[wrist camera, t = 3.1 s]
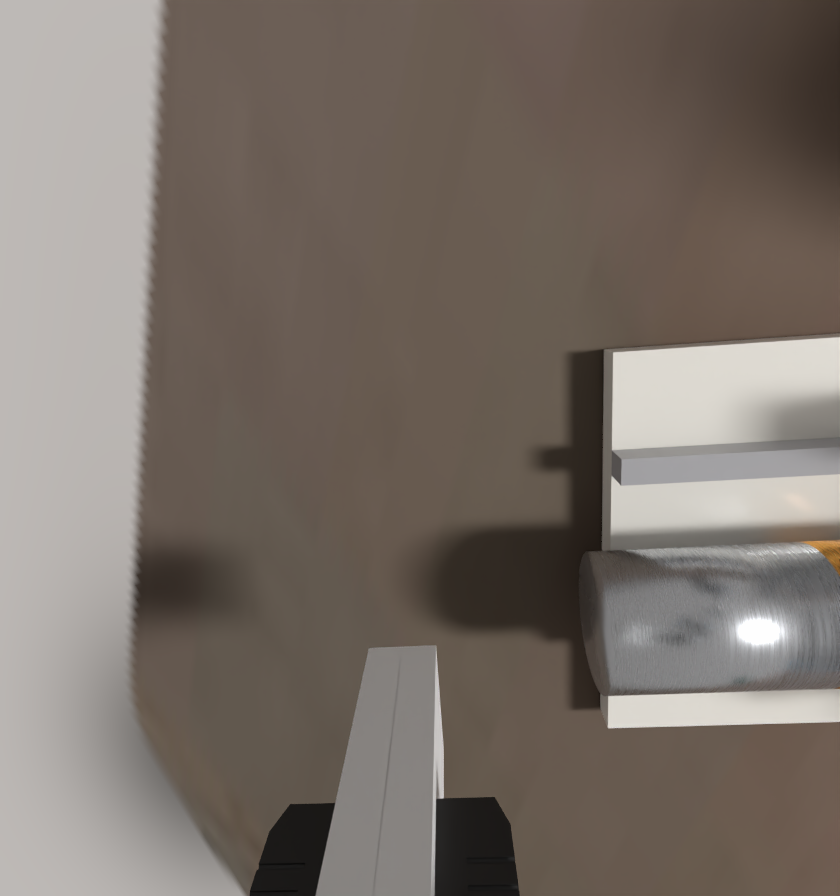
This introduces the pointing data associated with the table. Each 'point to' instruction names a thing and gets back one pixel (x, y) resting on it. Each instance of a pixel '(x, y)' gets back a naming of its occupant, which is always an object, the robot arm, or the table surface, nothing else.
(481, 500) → the table surface
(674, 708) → the collar board
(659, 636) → the tube
